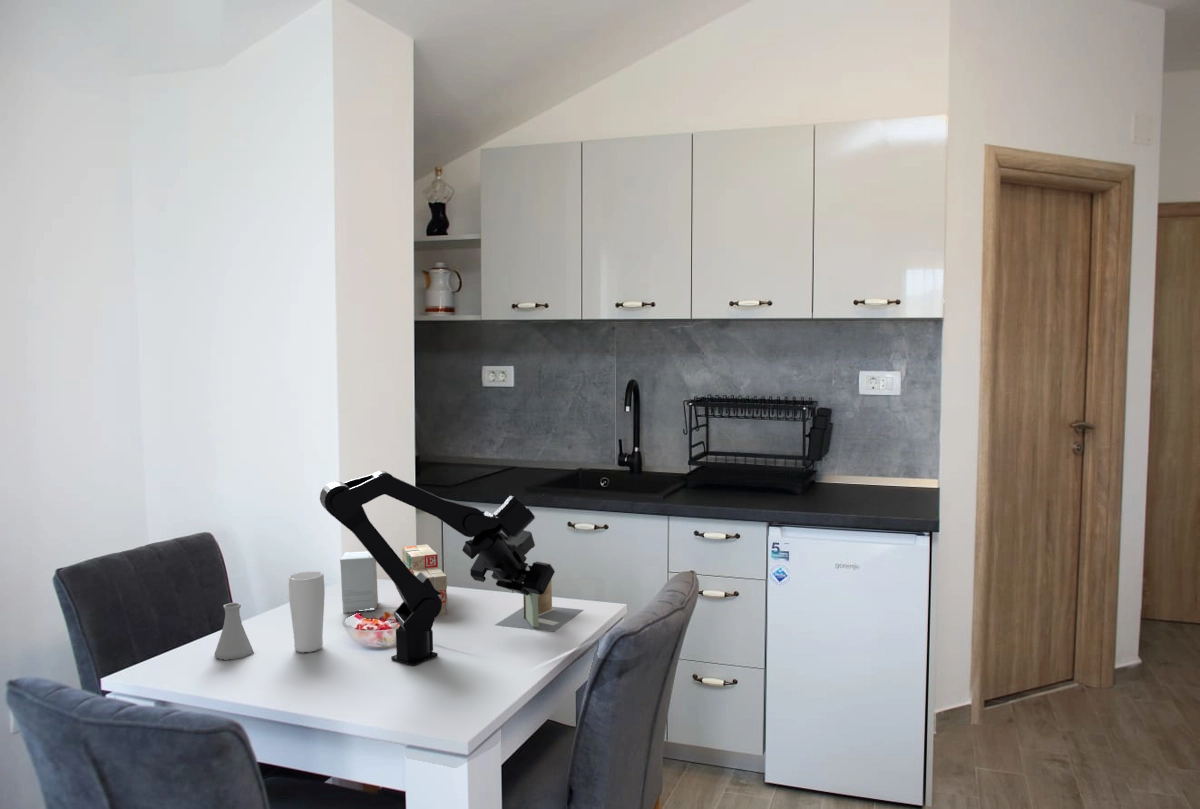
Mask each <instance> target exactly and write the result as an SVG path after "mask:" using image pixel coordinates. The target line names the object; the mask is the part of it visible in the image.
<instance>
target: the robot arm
mask: <svg viewBox="0 0 1200 809" xmlns="http://www.w3.org/2000/svg"><path fill="white" fill-rule="evenodd" d="M383 495H386V496H387V497H390V498H392V499H395V500H397V501H399V502H401V503H404V504H406V505H408V506H412V507H413V508H415V509H418V510H419V511H422V512H425V513H427V514H429V515H431V516H434V517H436V518H437V519H439V520H440V521H441V522H443V523H444V524H446V525H447V526H449V527H450V528H452V529H453V530H455V531H456V532H458V533H459V534H460V535H462V536H464V537H467V538H470V539H469V540H465V541H464V545H463V547H462V550H461V551H462V552H463V553H464V554H465V555H466V556H467V557H469V559H471V560H473V559H474V558H475V557H476V556H477V558H476V559H475V561H474V562H473V564H472V566H471V568H470V570H469V571H470V574H469V575H470V576H471V578H472V579H473V580H474V581H477V582H481V583H485V581H486V580H487V578H486V576H485V575H486V573H487V572H488V571H489V572H492V574H491V578H492V579H493V580H496V583H495V585H496V586H497V587H499V588H503V589H505V590H509V591H513V592H515V593H518V594H521V595H523V594H524V595H527V596H528V595H529V592H530V593H534V594H538V595H541V594H543V593H544V592H545V590H546V588H547V586H548V584H549V582H550V580H551V581H552V578H553V577H554V574H555V573H556V571H555V569H554V568H553V566H552V564H550V563H546V562H541V561H534V562H533V563H532V565H530V564H529V563H527V562H526V561H527V556H526V555H527V554H528V553H529V552H530V551H531V549H534V548H535V547H536V545H535V544H536V543H535V540H534V537H533V534H532V532H531V531H529V530H525V529H526V528H527V527H528V526H529V525H530V524H531V523H532V522H533V521H534V520H535V519H536V515H534V513H533V512H532V511H531V510H530V509H529V508H528V507H526V506H525V505H524V504H523V503H522V502H520V501H519V500H518V498H516V496H514V495H509V496H508V497H507V498H506V499H505V501H504V502H503V503H502V505H500V506H499V507H498V508H497V509H496V510H495V511H494V512H493V513H491V512H489V511H481V510H480V509H479V508H477V507H475V506H473V505H471V504H468V503H465V502H461V501H456V500H452V499H448V498H447V499H446V498H442V497H439V496H437V495H436V494H433V493H432V492H428V491H426V490H424V489H421V488H419V487H417V486H415V485H413V484H411V483H408V482H406V481H404V480H401V479H400V478H397V477H395V476H393V475H392V474H390V473H388V471H384V470H378V471H376V472H374V473H371V474H369V475H365V476H362V477H358V478H354V479H350V480H348V481H343V482H342V481H331V482H329V483H328V484H326V485H324V487H322V490H321V491H320V494H319V500H320V504H321V505H322V507H323V509H325V510H326V511H327V512H328V514H330V515H331V516H332V517H333V518H334V519H335V520H337V521H338V522H339V523H341V524H342V525H343V526H344V527H346V528H347V529H348V530H349V531H351V532H352V534H354V536H355V537H356V538H357V540H358V541H359V542H360V543H361V545H362V546H363V547H364V548H365V549H366V551H368V552H369V553H370V554H371V555H372V557H373V558H374V559H375V560H376V564H378V565H379V566H380V568H381V569H382V570H383V571H384V572H385V574H386V575H387V576H388V578H389V579H390V580H391V581H392V582H393V584H394V585H395V588H396V589H397V592H398V593H399V596H400V598H401V600H402V602H401V604H400V605H399V606H398V607H397V608H396V609H395V611H394V612H393V617H394V619H395V621H396V623H397V624H399V626H398V628H396V629H395V643H396V645H395V646H396V647H395V648H396V649H395V650H396V654H395V655H392V656H390V659H391V660H392V661H396V662H399V663H403V664H406V665H410V666H416V665H419V664H421V663H423V662H426V661H428V660H429V661H430V660H431V659H433V658H436V657H438V652H435V651H434V638H433V636H434V634H433V630H432V628H433V625H434V622H435V619H436V618H438V616H440V615H439V613H440V611H441V607H442V601H441V599H440V597H439V596H438V595H440V594H441V593H440V592H439V591H438V590H437V589H436V588H435V587H434V586H433V585H432V583H431V581H430V580H429V578H428V577H427V576H425V575H424V574H423V573H422V572H420V573H419V574H418V575H417V576H415V575H414V574H412V573H411V572H410V570H409V569H408V568H407V567H406V565H405V564H404V563H403V559H401V558H400V557H399V556H398V554H397V553H396V552H395V551H394V550H393V548H392V547H391V546H390V544H389V543H388V542H387V541H386V539H385V538H384V537H383V536H382V534H380V532H379V531H378V529H377V528H376V527H375V526H374V524H373V523H372V522H371V521H370V519H369V518H368V516H367V513H366V511H365V509H364V507H363V505H365V504H367V503H369V502H371V501H372V500H373V501H374V499H375V500H376V499H377V498H378V497H380V496H383Z"/></svg>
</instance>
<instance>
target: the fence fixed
mask: <svg viewBox="0 0 1200 809" xmlns="http://www.w3.org/2000/svg"><path fill="white" fill-rule="evenodd" d="M552 592H553V591H552V579H551V580H550V582H549V584H548V586H547V588H546V590H545V592H544V593H543V594H541V595H538V615H539V614H541V613H544V612H546V611H549V610H551V609H552V607H553V598H552V597H553V594H552ZM522 595H523V607H524V619H526V596H525V595H524V594H522Z"/></svg>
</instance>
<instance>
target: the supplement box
mask: <svg viewBox="0 0 1200 809" xmlns="http://www.w3.org/2000/svg"><path fill="white" fill-rule="evenodd" d="M339 561H340V577H341V578H340V579H341V580H340V581H341V600H342V613H343V614H347V613H348V612H349V613H356V612H355V611H359V610H365V609H370V608H377V606H378V604H379V594H378V592H379V591H378V575H377V574H378V572H377V570H378V569H377V568H378V567H377V561H376V560H375V559H374V558H373V557H372V555H371V554H370V553H369V552H368V550H365V551H349V552H348V551H346V552H344V554H343V555H342V557H341V558H340V559H339ZM352 611H353V612H352Z"/></svg>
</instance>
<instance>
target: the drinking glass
mask: <svg viewBox="0 0 1200 809" xmlns="http://www.w3.org/2000/svg"><path fill="white" fill-rule="evenodd" d="M287 583H288V584H287V585H288V600H289V601H288V602H289V609H290V614H291V615H290V616H291V622H292V631H293V640H294V649H295V651H296V652H298V653H302V652H303V653H304V652H308V653H313V651H314V652H316V651H319V650H320V649H322V647H323V645H324V644H323V643H324V642H323V640H324V639H323V638H324V637H323V635H324V633H323V632H324V614H325V613H324V611H325V598H326V597H325V594H326V593H325V592H326V591H325V590H326V589H325V577H324V573H323V572H322V571H315V570H310V571H309V570H308V571H299V572H297V573H293V574H290V575H289V576H288V582H287Z"/></svg>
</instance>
